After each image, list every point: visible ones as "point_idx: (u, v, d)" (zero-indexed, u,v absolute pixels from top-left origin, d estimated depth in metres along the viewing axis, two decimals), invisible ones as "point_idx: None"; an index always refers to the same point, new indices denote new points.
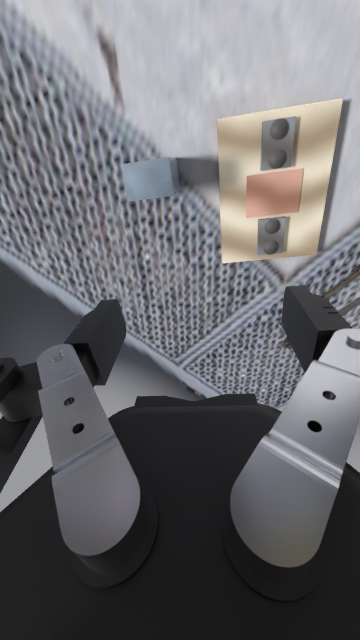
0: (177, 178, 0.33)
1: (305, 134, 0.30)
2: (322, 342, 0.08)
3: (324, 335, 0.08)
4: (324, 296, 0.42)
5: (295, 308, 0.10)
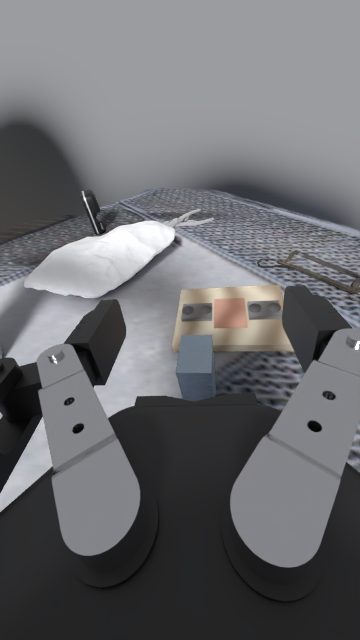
0: None
1: (194, 301, 0.45)
2: (322, 342, 0.08)
3: (324, 335, 0.08)
4: (321, 278, 0.47)
5: (295, 308, 0.10)
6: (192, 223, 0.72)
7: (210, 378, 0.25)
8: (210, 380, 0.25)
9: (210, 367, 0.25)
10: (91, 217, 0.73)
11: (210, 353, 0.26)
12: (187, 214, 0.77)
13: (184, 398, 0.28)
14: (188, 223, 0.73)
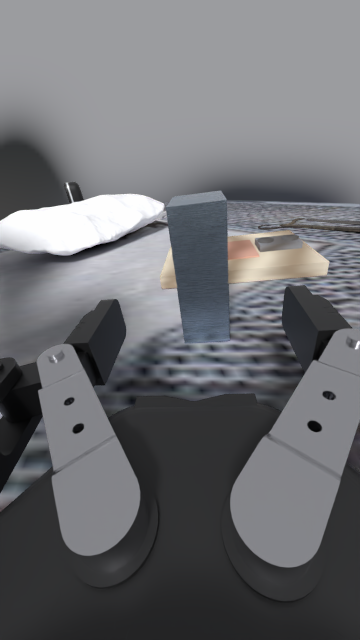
0: None
1: None
2: (322, 342, 0.08)
3: (324, 335, 0.08)
4: (335, 227, 0.40)
5: (295, 308, 0.10)
6: None
7: (224, 218, 0.15)
8: (224, 224, 0.15)
9: (223, 198, 0.15)
10: None
11: (221, 195, 0.16)
12: None
13: (179, 288, 0.17)
14: None
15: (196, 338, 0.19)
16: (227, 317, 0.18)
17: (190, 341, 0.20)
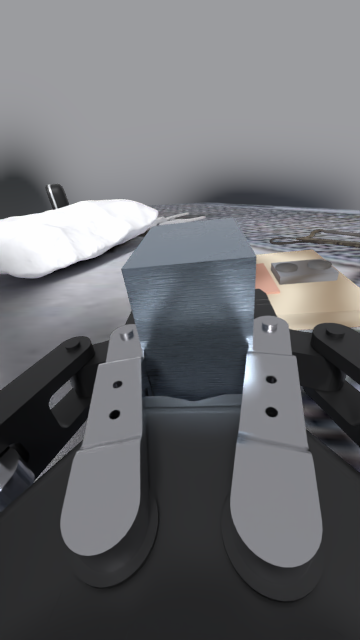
0: None
1: None
2: None
3: None
4: None
5: None
6: (179, 221, 0.60)
7: (249, 291, 0.07)
8: (248, 303, 0.07)
9: (248, 249, 0.07)
10: None
11: (238, 233, 0.08)
12: (173, 216, 0.66)
13: None
14: (174, 221, 0.60)
15: None
16: None
17: None
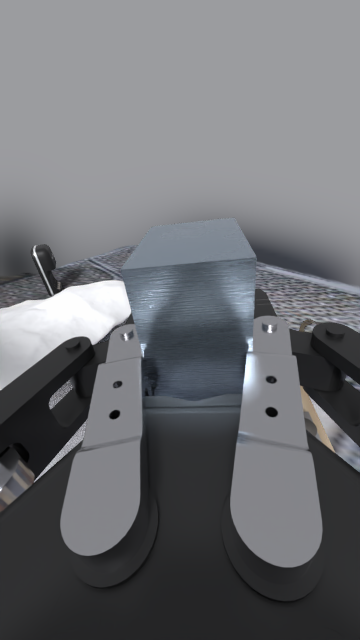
0: None
1: None
2: None
3: None
4: None
5: None
6: None
7: (249, 292, 0.07)
8: (248, 304, 0.07)
9: (248, 249, 0.07)
10: (43, 276, 0.59)
11: (238, 233, 0.08)
12: None
13: None
14: None
15: None
16: None
17: None
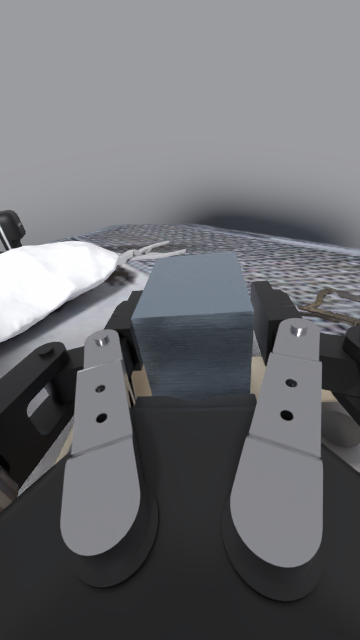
0: None
1: None
2: (273, 331, 0.09)
3: (274, 324, 0.09)
4: None
5: (256, 301, 0.11)
6: (154, 256, 0.50)
7: (247, 339, 0.07)
8: (246, 348, 0.08)
9: (246, 299, 0.07)
10: (8, 246, 0.50)
11: (238, 276, 0.09)
12: (150, 246, 0.55)
13: None
14: (148, 256, 0.50)
15: None
16: None
17: None
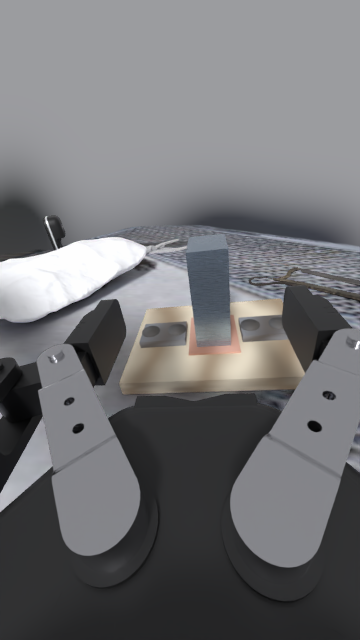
0: None
1: (163, 321, 0.32)
2: (322, 342, 0.08)
3: (324, 335, 0.08)
4: (336, 292, 0.34)
5: (295, 308, 0.10)
6: (168, 250, 0.63)
7: (226, 260, 0.21)
8: (226, 264, 0.21)
9: (226, 246, 0.21)
10: (54, 243, 0.64)
11: (224, 240, 0.22)
12: (163, 243, 0.69)
13: (194, 306, 0.24)
14: (163, 250, 0.63)
15: (205, 343, 0.26)
16: (229, 327, 0.24)
17: (201, 345, 0.26)
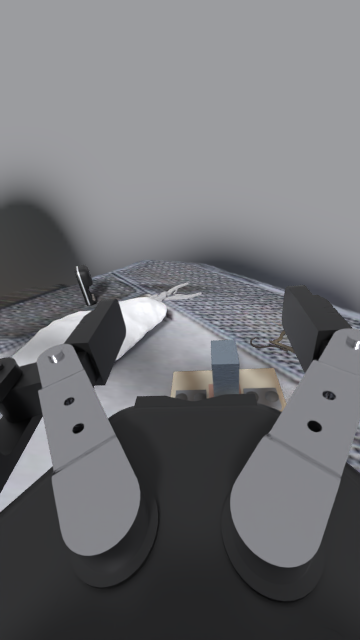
0: None
1: (188, 386, 0.43)
2: (322, 342, 0.08)
3: (324, 335, 0.08)
4: None
5: (295, 308, 0.10)
6: (180, 297, 0.74)
7: (238, 369, 0.32)
8: (237, 371, 0.33)
9: (237, 360, 0.32)
10: (83, 290, 0.75)
11: (236, 351, 0.34)
12: (175, 288, 0.80)
13: (214, 392, 0.35)
14: (176, 297, 0.75)
15: None
16: None
17: None
